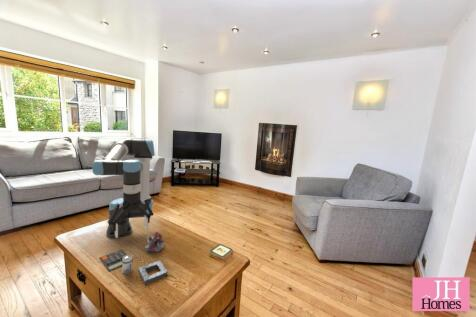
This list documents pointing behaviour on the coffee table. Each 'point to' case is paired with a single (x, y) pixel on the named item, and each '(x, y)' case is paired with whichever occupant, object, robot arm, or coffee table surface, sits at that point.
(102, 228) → the coffee table surface
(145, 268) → the bore plate
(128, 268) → the piston
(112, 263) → the calculator
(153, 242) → the brake caliper
